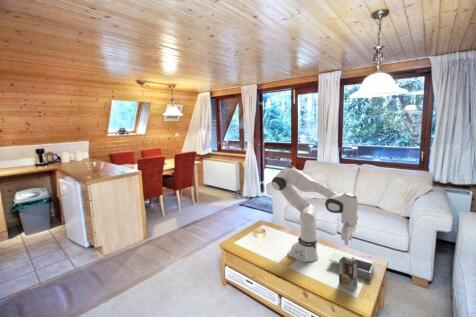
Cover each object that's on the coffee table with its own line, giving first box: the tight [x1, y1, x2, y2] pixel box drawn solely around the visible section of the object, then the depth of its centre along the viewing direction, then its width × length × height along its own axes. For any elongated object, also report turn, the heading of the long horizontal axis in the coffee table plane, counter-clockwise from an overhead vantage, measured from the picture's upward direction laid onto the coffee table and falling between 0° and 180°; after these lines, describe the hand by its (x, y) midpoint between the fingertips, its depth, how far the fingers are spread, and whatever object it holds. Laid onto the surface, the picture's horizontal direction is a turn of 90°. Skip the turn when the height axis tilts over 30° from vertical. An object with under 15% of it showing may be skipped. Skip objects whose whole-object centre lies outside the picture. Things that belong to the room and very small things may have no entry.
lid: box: [328, 251, 357, 264], centre depth 169 cm, size 15×13×3 cm
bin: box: [355, 258, 375, 282], centre depth 162 cm, size 15×13×5 cm
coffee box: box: [338, 257, 358, 291], centre depth 149 cm, size 9×6×16 cm
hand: (348, 241), depth 146 cm, fingers open, 7 cm apart
